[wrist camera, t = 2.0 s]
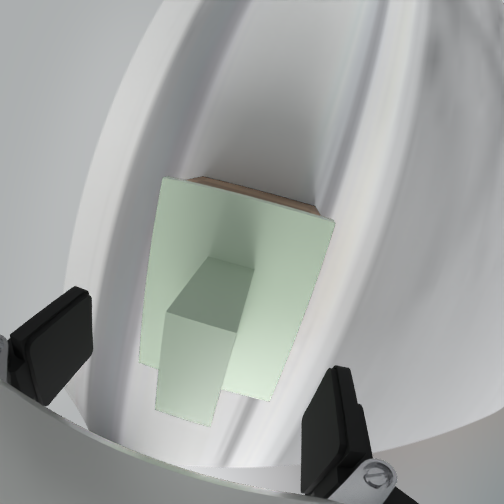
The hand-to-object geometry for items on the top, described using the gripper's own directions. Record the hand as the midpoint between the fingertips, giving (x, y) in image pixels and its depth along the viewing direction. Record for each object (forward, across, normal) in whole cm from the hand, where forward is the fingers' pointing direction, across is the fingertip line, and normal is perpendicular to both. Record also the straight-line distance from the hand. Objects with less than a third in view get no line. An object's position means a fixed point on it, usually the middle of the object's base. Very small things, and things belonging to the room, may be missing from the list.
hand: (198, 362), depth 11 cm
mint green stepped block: (+8, 0, +1) cm, 8 cm away
